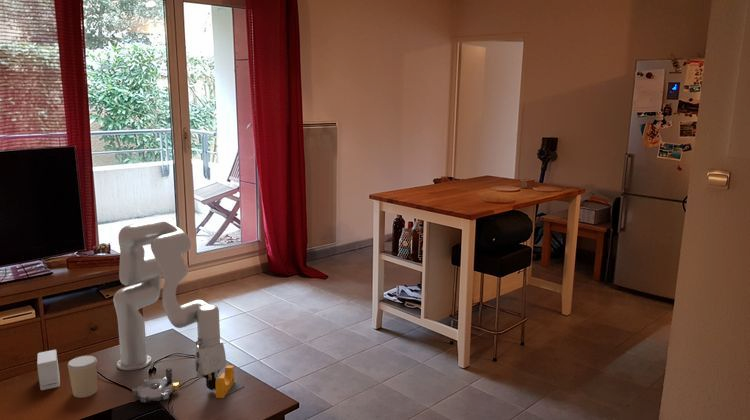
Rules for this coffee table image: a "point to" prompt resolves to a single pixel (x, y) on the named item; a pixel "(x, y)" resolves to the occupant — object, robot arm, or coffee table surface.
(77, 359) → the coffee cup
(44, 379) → the skincare box
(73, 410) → the coffee table surface
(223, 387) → the pipe clamp
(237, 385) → the mat
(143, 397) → the sprocket
